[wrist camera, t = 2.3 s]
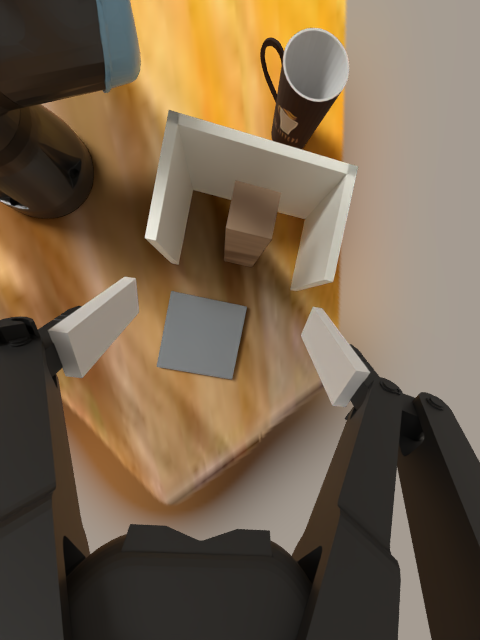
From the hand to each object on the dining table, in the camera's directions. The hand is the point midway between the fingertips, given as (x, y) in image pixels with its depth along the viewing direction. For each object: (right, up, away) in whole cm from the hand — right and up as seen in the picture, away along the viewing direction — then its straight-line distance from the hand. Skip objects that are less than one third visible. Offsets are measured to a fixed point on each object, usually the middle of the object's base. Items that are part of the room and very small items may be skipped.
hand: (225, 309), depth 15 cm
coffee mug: (+9, +33, +20) cm, 39 cm away
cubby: (+2, +13, +20) cm, 24 cm away
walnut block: (+1, +11, +20) cm, 23 cm away
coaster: (-5, -4, +20) cm, 21 cm away
